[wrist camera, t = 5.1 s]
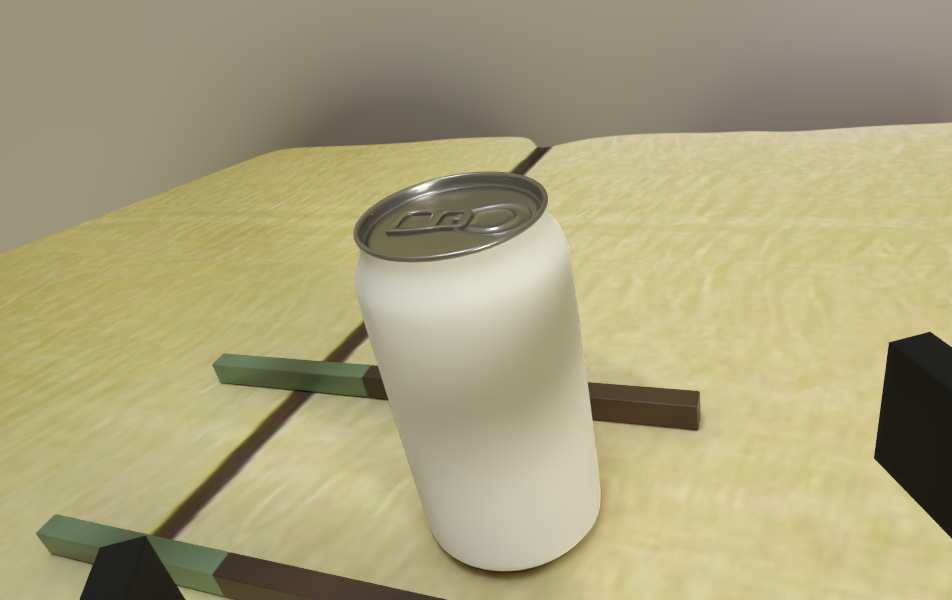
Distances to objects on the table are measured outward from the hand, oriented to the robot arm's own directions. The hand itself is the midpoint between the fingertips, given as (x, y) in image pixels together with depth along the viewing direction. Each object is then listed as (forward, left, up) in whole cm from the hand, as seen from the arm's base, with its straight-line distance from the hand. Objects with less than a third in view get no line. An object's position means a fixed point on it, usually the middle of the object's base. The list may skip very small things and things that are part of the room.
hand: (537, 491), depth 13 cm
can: (-5, +8, -11) cm, 14 cm away
